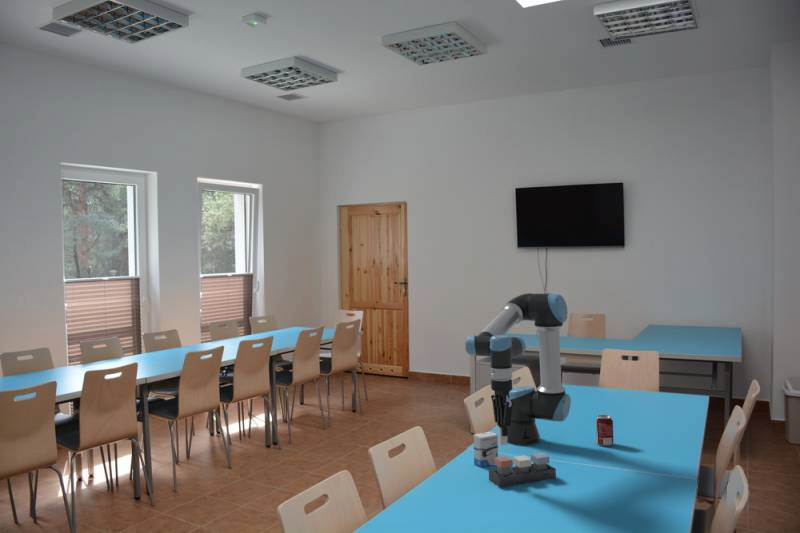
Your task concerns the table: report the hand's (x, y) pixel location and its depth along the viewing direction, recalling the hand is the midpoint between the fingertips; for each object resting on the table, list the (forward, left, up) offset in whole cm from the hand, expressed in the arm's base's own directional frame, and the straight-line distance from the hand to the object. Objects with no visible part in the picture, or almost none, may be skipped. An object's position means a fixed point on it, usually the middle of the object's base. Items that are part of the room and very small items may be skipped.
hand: (503, 444), depth 222 cm
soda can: (+15, +61, -14) cm, 65 cm away
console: (+4, +6, -14) cm, 16 cm away
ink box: (-15, +13, -14) cm, 24 cm away
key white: (+4, +6, -12) cm, 14 cm away
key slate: (+8, +13, -12) cm, 19 cm away
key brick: (0, 0, -11) cm, 11 cm away
